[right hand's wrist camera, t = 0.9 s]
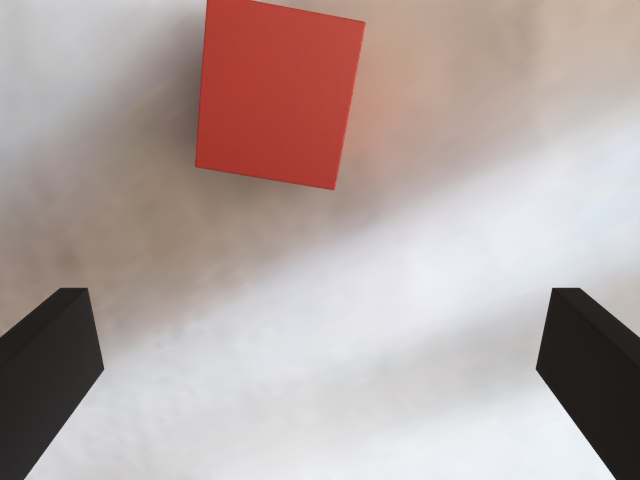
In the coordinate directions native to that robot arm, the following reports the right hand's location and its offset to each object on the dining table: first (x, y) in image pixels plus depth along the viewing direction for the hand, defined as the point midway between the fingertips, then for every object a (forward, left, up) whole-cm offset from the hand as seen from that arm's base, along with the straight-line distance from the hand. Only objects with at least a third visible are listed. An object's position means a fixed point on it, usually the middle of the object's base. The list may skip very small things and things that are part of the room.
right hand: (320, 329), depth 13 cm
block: (-6, +3, -18) cm, 19 cm away
